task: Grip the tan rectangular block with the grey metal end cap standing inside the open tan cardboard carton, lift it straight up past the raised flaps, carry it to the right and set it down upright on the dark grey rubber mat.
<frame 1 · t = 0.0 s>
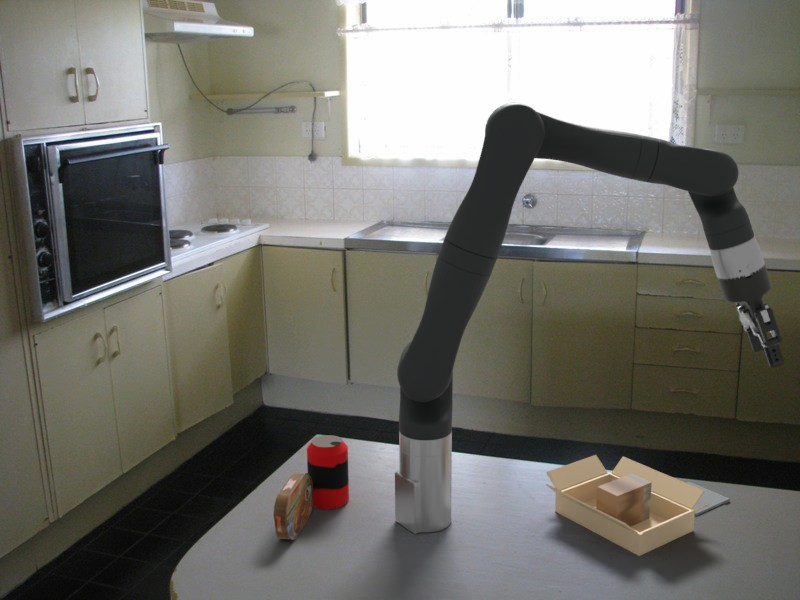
hand: (768, 357, 143), 31 cm above the table, tool tilted 20°, fingers open, 8 cm apart
tan rectangular block: (622, 520, 154), resting on carton
carton: (622, 521, 154), on the table
mat: (692, 499, 162), on the table
tin: (294, 527, 154), on the table
soda can: (328, 501, 163), on the table
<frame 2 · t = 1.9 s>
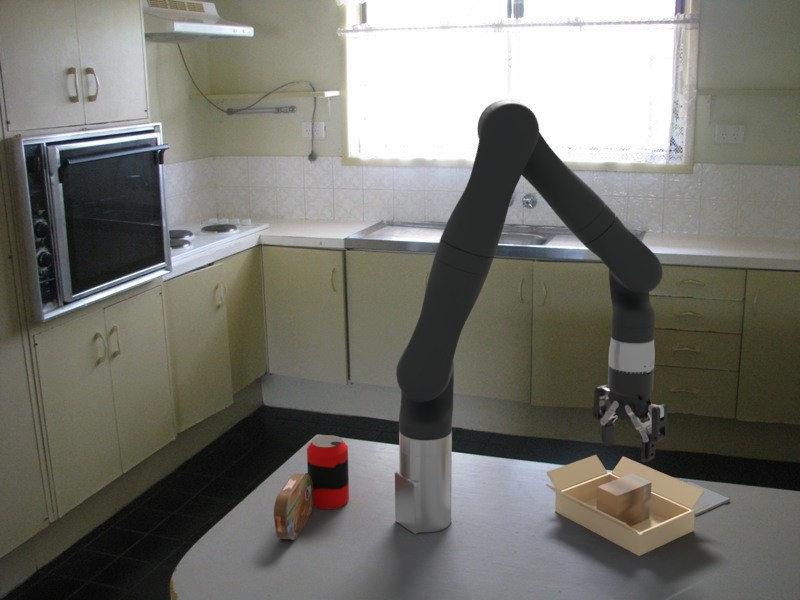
hand: (627, 452, 151), 13 cm above the table, tool pointing down, fingers open, 8 cm apart
nothing on the table moved.
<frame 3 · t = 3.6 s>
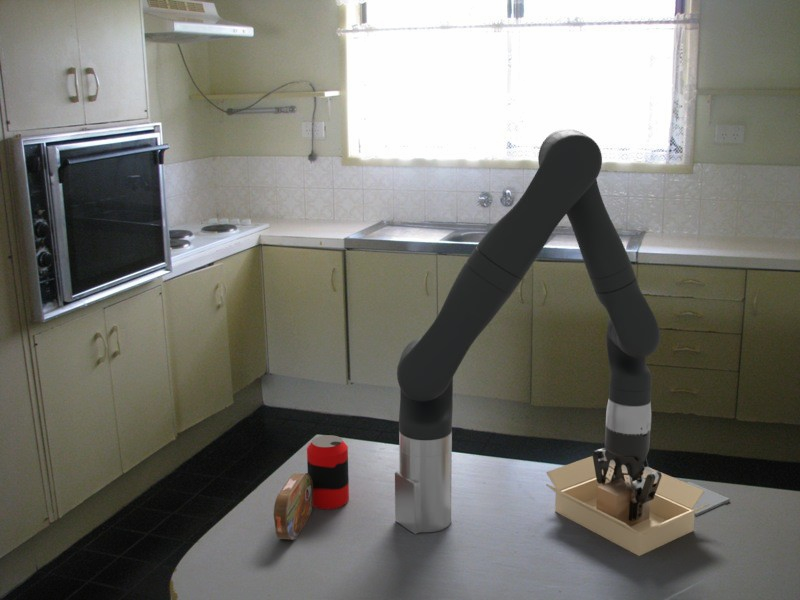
hand: (623, 513, 154), 2 cm above the table, tool pointing down, fingers closed on tan rectangular block, 4 cm apart
tan rectangular block: (622, 520, 154), resting on carton, touching gripper
everything else where it was.
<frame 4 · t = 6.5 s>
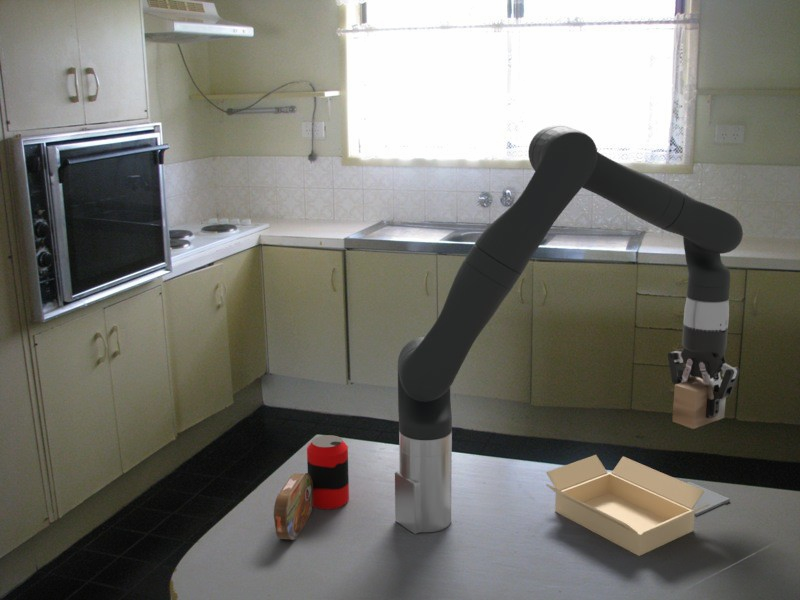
hand: (698, 412, 158), 17 cm above the table, tool pointing down, fingers closed on tan rectangular block, 4 cm apart
tan rectangular block: (698, 419, 158), point 16 cm above the table, touching gripper
everything else where it was.
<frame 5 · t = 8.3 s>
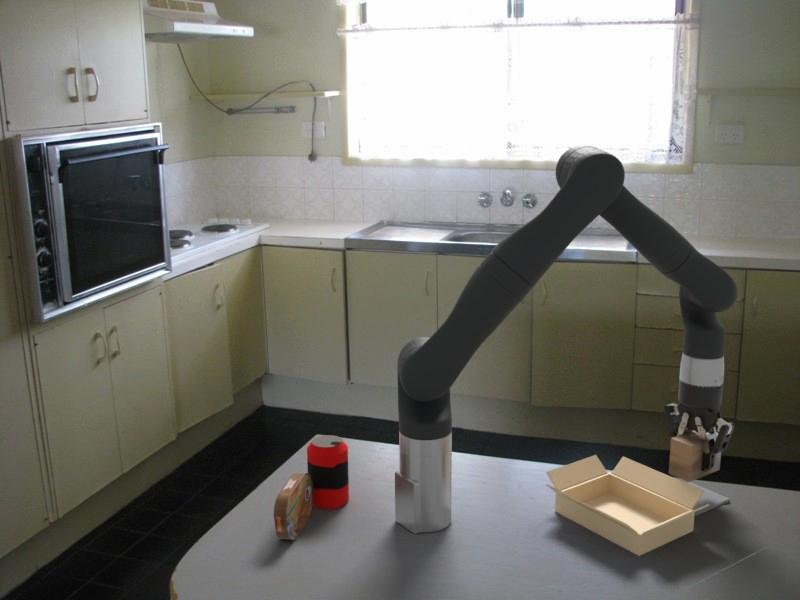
hand: (694, 465, 160), 7 cm above the table, tool pointing down, fingers closed on tan rectangular block, 4 cm apart
tan rectangular block: (694, 471, 161), point 6 cm above the table, touching gripper
everything else where it was.
when the fingers open (3 cm above the table, at t = 9.6 s): tan rectangular block stays where it is, resting on mat.
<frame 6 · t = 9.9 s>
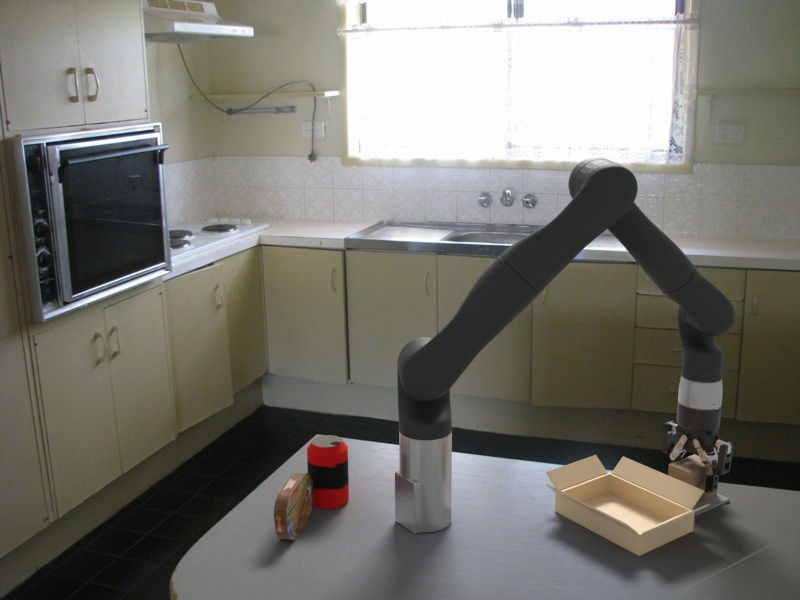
hand: (693, 484, 161), 3 cm above the table, tool pointing down, fingers open, 6 cm apart
tan rectangular block: (691, 497, 162), point 1 cm above the table, touching mat
everything else where it was.
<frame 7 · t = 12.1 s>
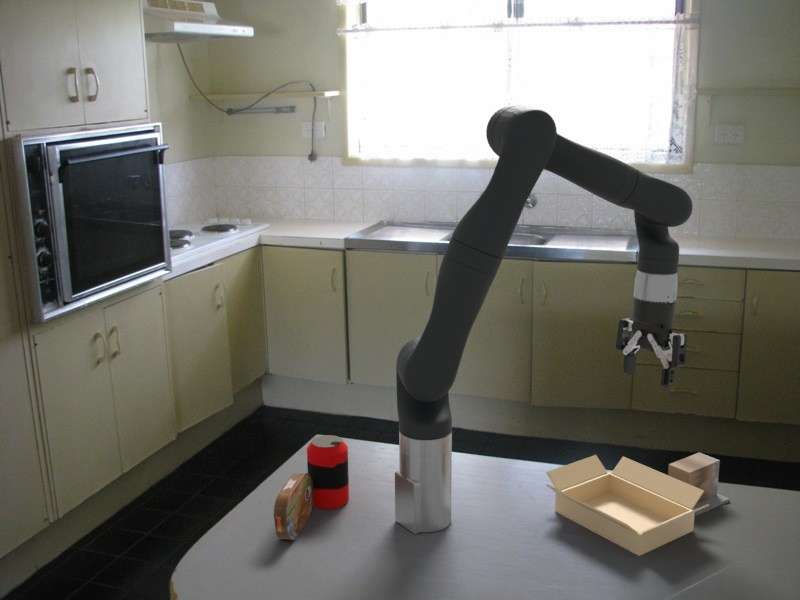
hand: (647, 380, 161), 22 cm above the table, tool pointing down, fingers open, 8 cm apart
nothing on the table moved.
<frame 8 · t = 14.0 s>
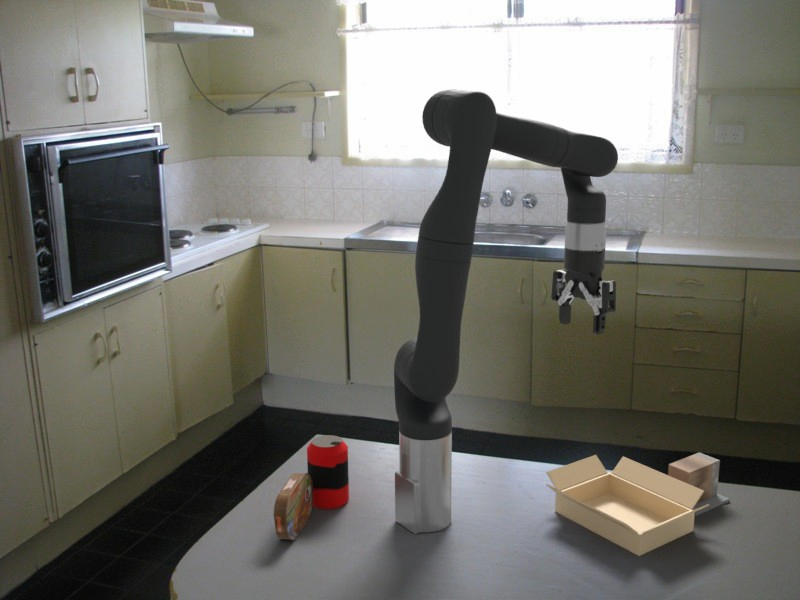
hand: (581, 328, 167), 30 cm above the table, tool pointing down, fingers open, 8 cm apart
nothing on the table moved.
at the end: tan rectangular block inside the target area on the mat (0.1 cm from its centre), point 0.6 cm above the mat's base; tan rectangular block tilted 0°; the gripper is holding nothing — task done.
